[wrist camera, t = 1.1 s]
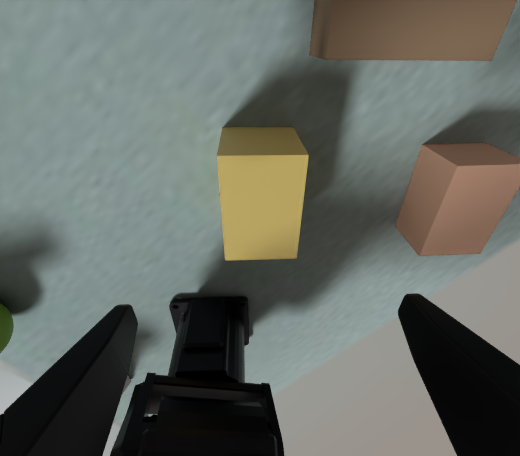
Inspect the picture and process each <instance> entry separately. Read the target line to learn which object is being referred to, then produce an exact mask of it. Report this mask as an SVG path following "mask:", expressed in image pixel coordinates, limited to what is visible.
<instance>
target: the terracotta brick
mask: <svg viewBox="0 0 520 456" xmlns="http://www.w3.org/2000/svg"><path fill="white" fill-rule="evenodd" d="M519 187H520V158H519V157H517V156H514V155H512V154H510V153H508V152H505V151H503V150H501V149H499V148H496V147H494V146H492V145H490V144H487V143H464V144H425V145H422V147H421V150H420V153H419V156H418V159H417V162H416V165H415V168H414V171H413V174H412V177H411V180H410V183H409V186H408V189H407V192H406V195H405V198H404V201H403V204H402V207H401V210H400V213H399V216H398V219H397V222H396V225H395V227H396V228H397V229H398V230H399V232H400V233H401V234H402V235H403V237H404V238H405V239H406V240H407V242H408V243H409V244H410V245H411V247H412V248H413V249H414V250H415V252H416V253H417V254H418V255H419V256H434V255H457V254H480V253H481V251H482V250H483V248H484V246H485V245H486V243H487V241H488V240H489V238H490V236H491V234H492V233H493V231H494V229H495V228H496V226H497V224H498V223H499V221H500V219H501V217H502V216H503V214H504V212H505V211H506V209H507V207H508V206H509V204H510V202H511V201H512V199H513V197H514V195H515V194H516V192H517V190H518V189H519Z"/></svg>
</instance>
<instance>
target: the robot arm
mask: <svg viewBox="0 0 520 456" xmlns="http://www.w3.org/2000/svg"><path fill="white" fill-rule="evenodd" d="M241 302H243V303H241ZM169 308H170V311H171V315H172V319H173V322H174V326H175V330H176V334H177V335H176V340H175V345H174V349H173V354H172V359H171V364H170V368H169V373H168V376H164V375H156V373H147V376H146V379H145V382H143V383H141V384H138V385H135V388H134V391H133V394H132V398H131V401H130V404H129V408H128V410H127V413H126V416H125V419H124V421H123V424H122V426H121V429H120V431H119V434H118V436H117V439H116V441H115V444H114V446H113V449H112V451H111V454H110V456H284V448H283V442H282V437H281V432H280V428H279V424H278V419H277V415H276V411H275V406H274V402H273V397H272V393H271V389H270V385H269V383H261V384H253V383H245V367H244V346H245V345H248V344H249V324H248V299H247V298H246V297H219V298H191V299H173V300H171V302H170V305H169ZM398 316H399V319H400V322H401V325H402V328H403V331H404V334H405V337H406V340H407V342H408V346H409V349H410V351H411V354H412V357H413V360H414V362H415V364H416V367H417V369H418V371H419V373H420V375H421V378H422V380H423V382H424V384H425V386H426V389H427V391H428V393H429V395H430V397H431V400H432V401H433V404H434V406H435V408H436V410H437V413H438V415H439V417H440V419H441V421H442V424H443V426H444V428H445V430H446V432H447V434H448V437H449V439H450V441H451V443H452V445H453V447H454V450H455V452H456V454H457V456H520V365H519V364H518V363H516V362H515V361H513V360H512V359H511V358H509V357H508V356H506V355H505V354H504V353H502V352H501V351H499V350H498V349H496V348H495V347H494V346H492V345H491V344H489V343H488V342H487V341H485V340H484V339H482V338H481V337H480V336H478V335H477V334H475V333H474V332H472V331H471V330H470V329H468V328H467V327H465V326H464V325H463V324H461V323H460V322H458V321H457V320H456V319H454V318H453V317H451V316H450V315H448V314H447V313H446V312H444V311H443V310H442V309H440V308H439V307H437V306H436V305H434V304H433V303H432V302H430V301H429V300H427V299H426V298H425V297H423V296H422V295H420V294H406V295H405V296H404V298H403V300H402V303H401V305H400V307H399V309H398ZM137 326H138V322H137V318H136V316H135V313H134V310H133V308H132V306H131V305H129V304H124V305H117V306H115V307H114V308H113V309H112V310H111V311H110V312H109V313H108V314H107V315H106V316H104V317H103V318H102V319H101V320H100V321H99V322H98V323H97V324H96V325H95V326H94V327H93V328H92V329H91V330H90V331H89V332H88V333H86V334H85V335H84V336H83V337H82V338H81V339H80V340H79V341H78V342H77V343H76V344H75V345H74V346H73V347H72V348H71V349H70V350H69V351H67V352H66V353H65V354H64V355H63V356H62V357H61V358H60V359H59V360H58V361H57V362H56V363H55V364H54V365H53V366H52V367H51V368H49V369H48V370H47V371H46V372H45V373H44V374H43V375H42V376H41V377H40V378H39V379H38V380H37V381H36V382H35V383H34V384H33V385H32V386H30V387H29V388H28V389H27V390H26V391H25V392H24V393H23V394H22V395H21V396H20V397H19V398H18V399H17V400H16V401H15V402H14V403H12V404H11V405H10V406H9V407H8V408H7V409H6V410H5V412H4V414H1V415H0V456H102V455H103V451H104V449H105V445H106V442H107V439H108V436H109V433H110V429H111V426H112V423H113V420H114V417H115V414H116V411H117V408H118V404H119V401H120V398H121V395H122V392H123V389H124V386H125V382H126V379H127V375H128V371H129V366H130V362H131V357H132V352H133V347H134V342H135V337H136V332H137ZM148 414H158V415H152V416H151V417H148Z"/></svg>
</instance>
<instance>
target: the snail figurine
mask: <svg viewBox="0 0 520 456" xmlns="http://www.w3.org/2000/svg"><path fill="white" fill-rule="evenodd" d="M12 333H13V319H12V316H11V314H10V312H9V311H8V309H7V308H6V307H5V306H4V305H2V304H1V303H0V353H1V352H2V351H3V350H4V348H5V347H6V346H7V344H8V343H9V341H10V339H11V336H12Z"/></svg>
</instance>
